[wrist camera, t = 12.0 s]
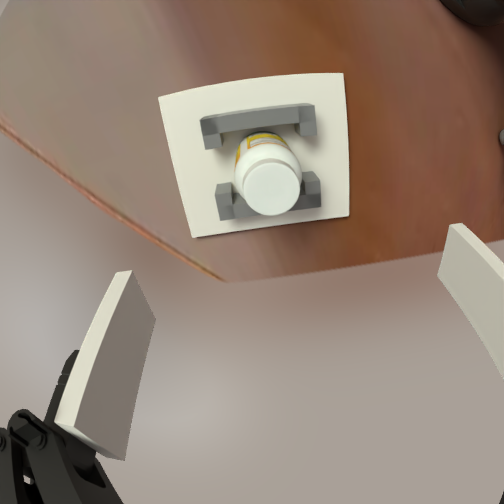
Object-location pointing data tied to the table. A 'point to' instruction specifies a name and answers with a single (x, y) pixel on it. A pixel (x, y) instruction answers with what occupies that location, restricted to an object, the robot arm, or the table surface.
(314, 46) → the table surface
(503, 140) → the lightbulb
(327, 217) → the socket
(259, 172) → the supplement bottle
